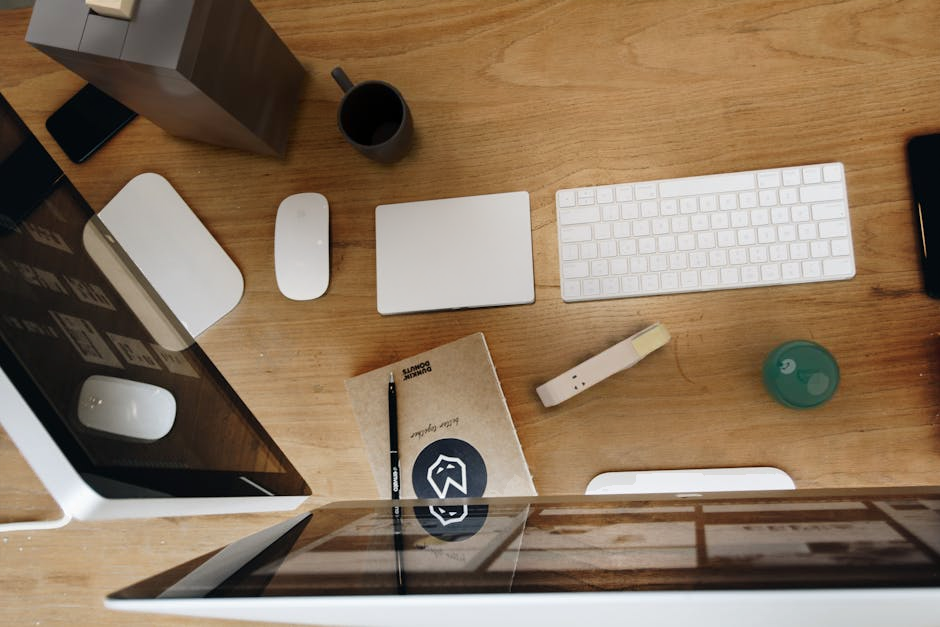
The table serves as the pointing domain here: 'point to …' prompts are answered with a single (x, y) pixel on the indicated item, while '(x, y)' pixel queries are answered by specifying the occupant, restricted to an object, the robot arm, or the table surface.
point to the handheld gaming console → (603, 365)
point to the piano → (182, 66)
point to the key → (113, 8)
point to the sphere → (800, 375)
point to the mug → (374, 119)
